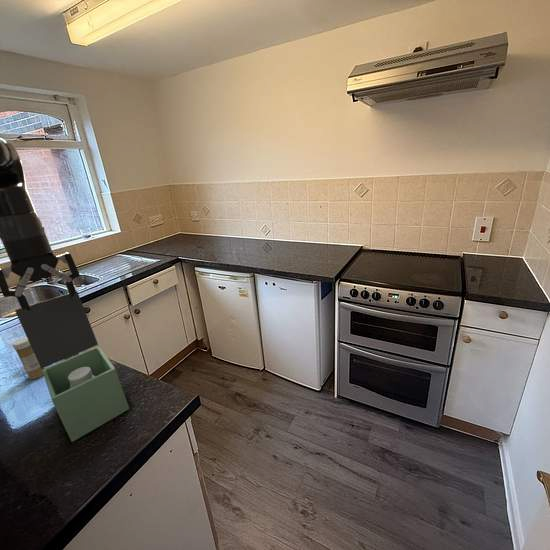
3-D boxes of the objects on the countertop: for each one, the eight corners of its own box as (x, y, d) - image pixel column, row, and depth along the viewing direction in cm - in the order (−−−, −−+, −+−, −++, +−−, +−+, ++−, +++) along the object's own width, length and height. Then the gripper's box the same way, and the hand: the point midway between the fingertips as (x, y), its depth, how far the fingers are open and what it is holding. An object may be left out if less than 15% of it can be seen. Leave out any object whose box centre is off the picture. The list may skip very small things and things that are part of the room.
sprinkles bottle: (46, 368, 101) (31, 334, 96) (45, 376, 97) (29, 341, 92) (29, 374, 99) (13, 340, 94) (28, 382, 95) (10, 346, 90)
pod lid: (77, 291, 82) (76, 290, 82) (14, 310, 73) (14, 309, 74) (98, 344, 86) (97, 344, 86) (41, 368, 77) (41, 368, 78)
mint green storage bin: (129, 408, 80) (115, 368, 75) (71, 442, 72) (51, 399, 67) (111, 382, 91) (98, 345, 86) (60, 408, 83) (41, 369, 78)
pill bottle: (86, 419, 77) (71, 384, 73) (75, 410, 80) (60, 376, 76) (109, 402, 82) (97, 369, 78) (98, 395, 85) (85, 362, 81)
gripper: (59, 226, 71) (81, 288, 77) (-21, 240, 62) (11, 309, 68) (65, 229, 66) (88, 295, 71) (-22, 245, 57) (13, 320, 63)
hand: (51, 302), depth 70 cm, fingers open, 8 cm apart
